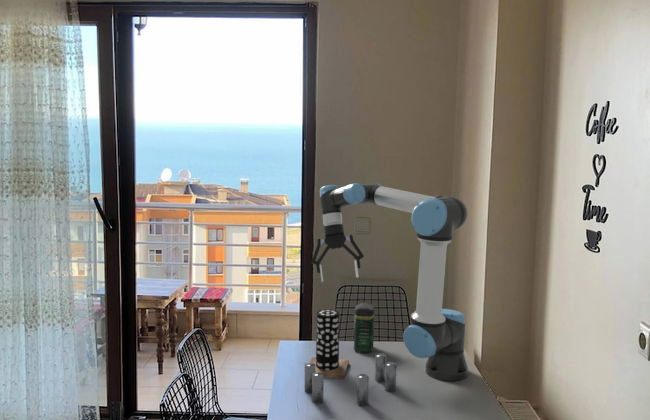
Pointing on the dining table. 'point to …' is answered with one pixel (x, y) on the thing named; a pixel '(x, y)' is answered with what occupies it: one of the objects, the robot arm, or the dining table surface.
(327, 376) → the square wooden board
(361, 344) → the coffee jar
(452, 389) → the dining table surface
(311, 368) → the spacer posts
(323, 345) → the spotted tube
